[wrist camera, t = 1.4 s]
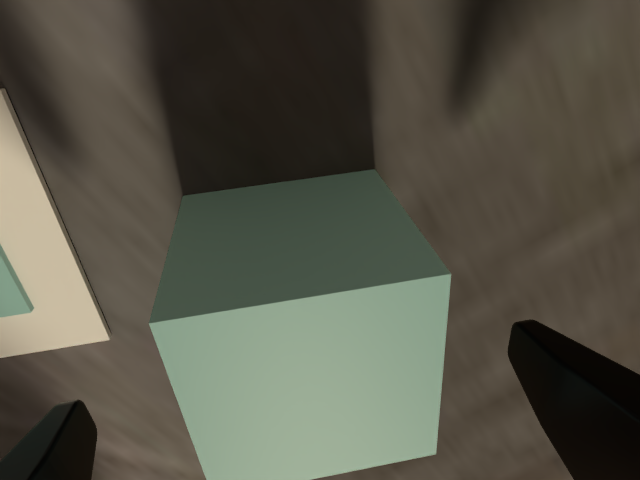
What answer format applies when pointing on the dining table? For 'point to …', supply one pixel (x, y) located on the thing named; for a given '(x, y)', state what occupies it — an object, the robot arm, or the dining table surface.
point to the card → (37, 258)
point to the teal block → (303, 328)
